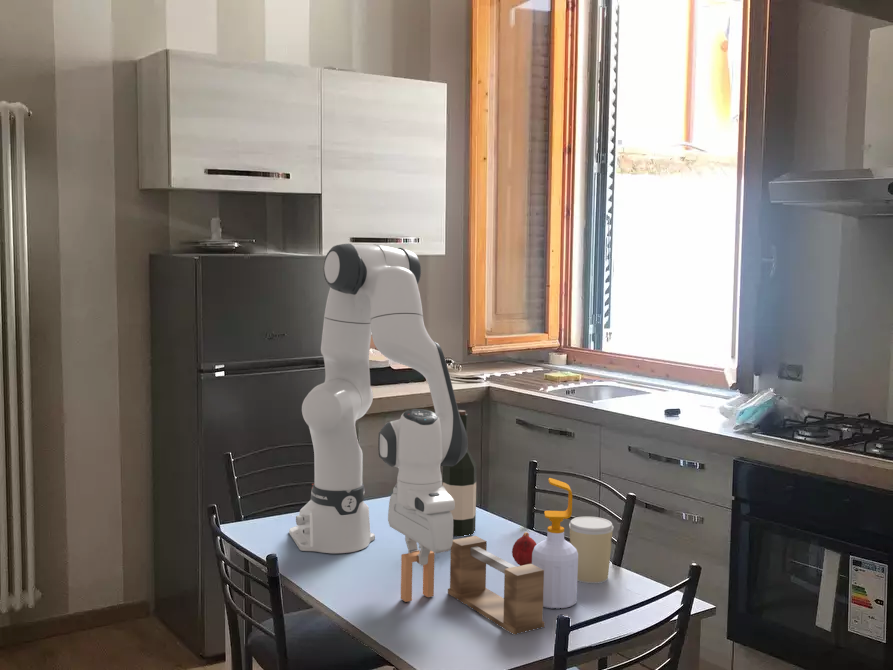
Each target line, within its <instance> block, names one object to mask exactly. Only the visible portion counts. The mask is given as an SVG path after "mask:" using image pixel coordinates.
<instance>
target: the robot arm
mask: <svg viewBox="0 0 893 670" xmlns="http://www.w3.org/2000/svg"><path fill="white" fill-rule="evenodd" d="M421 275H422V267H421V263H420V260H419V257H418V255H417V254H416V253H415V252H413V251H411V250H409V249H406V248H403V247H397V248H396V247H392V246H388V245H382V244H376V243H375V244H351V243H342V244H336V245H333V246H332V247H331V248H330V249H329V250H328V252H327V254H326V256H325V258H324V263H323V276H324V277H323V278H324V280H325V281H326V283H327V285H328V286H329V291H328V294H327V298H326V303H325V310H324V315H323V324H322V325H323V326H322V333H321V343H320V353H321V356H322V357H323V362H324V370H325V371H324V372H325V378H324V382H322V383H320V384H317V385H316V386H314V387H313V388H311V390H310V391H309V392H308V394H307V395H306V396H305V398H304V399H303V401H302V404H301V413H302V418H303V420H304V422H305V423H306V425H307V426H308V429H309V433H310V436H311V441H312V446H313V452H314V453H313V454H314V455H313V456H314V457H313V458H314V460H313V461H314V483H311V486H312V487H311V492H310V500H309V501H308V502H307V503H306V504H305V505H304V506H302V508H300V510H299V512H298V513H299V514H298V515H296V516H295V522H296V523H295V524H296V525H295V526H293V527H290V528H289V530H288V531H289V532H288V533H289V535H290V536H291V538H292V540H293V541H294V543H295V544H296V546H297V547H298V549H299V550H300V551H303V552H318V553H324V554H345V553H346V554H347V553H354V552H358V551H360V550H361V551H362V550H363V549H365V548H367V547H368V546H369V545H370V543H371V542H372V541H374V540H375V539H376V535H375V533H373V532H371V523H370V510H369V508H370V507H369V506H368V504H367V503H365V502H364V500H365V494H366V493H365V485H364V483H363V456H364V455H363V450H362V448H361V446H360V444H359V441H358V436H357V430H356V423H357V422H356V421H358V420H359V419H361V418H362V417H364V416H365V415H366V413H367V412H368V411H369V409H370V407H371V406H372V403H373V401H374V400H373V399H374V392H373V389H372V386H371V372H370V348H371V339H372V342H373V344H374V346H375V348H376V350H378V352H379V353H380V354H381V355H383V356H384V357H386V358H387V359H389V360H390V361H392V362H394V363H397V364H400V365H403V366H406V367H408V368H410V369H413V370H415V371H417V372H418V373H420V375H422V376H423V377H424V378H425V379H426V382H427V384H428V387H429V392H430V396H431V399H432V400H431V401H432V404H433V408H434V412H433V411H431V410H428V409H424V408H414V409H413V408H412V409H408V410H405V411H404V412H403V413H402V414H401V416H400V418H399V419H396V420H392V421H387V422H386V423H385V424H384V425H383V426H382V428H381V429H380V431H379V432H378V440H377V441H378V447H377V448H378V450H377V451H378V456H379V458H380V459H381V461H383V462H384V463H385V464H386V465H388V466H389V467H393V468H398V473H397V477H396V478H397V479H396V484H395V486H394V487H393V488H392V489H393V490H392V494H391V495H390V497H389V501H388V502H389V504H388V513H387V522H388V525H389V528H391V529H394V531H396V532H398V533H400V534H401V535H404V536H405V537H404V540H405V544H406V547H407V551H408V552H407V553H413V552H419V551H420V552H419V554H418V555H417V562H416V563H417V564H419V566H423V565H426V564H427V563H428V555H429V553H430V551H432V552H434V553H435V554H440V553H446V552H449V551H451V547H452V543H453V540H454V536H453V516H452V513H451V512H450V511H452V510H454V508H455V502H454V500H453V498H452V497H451V496H450V495H449V494H448V492H447V491H446V490H445V488H444V486H443V474H442V472H441V467H443V466H454V465H456V464H457V463H458V462H459V461H460V460H461V459H462V458H463V457H464V455H465V454H466V452H467V449H468V448H469V441H468V433H467V434H466V430H465V427H464V425H463V422H462V420H461V417H460V414H459V411H458V410H459V408H458V407H459V406H458V403H457V399H456V396H455V392H454V387H453V382H452V379H451V376H450V371H449V368H448V364H447V361H446V357H445V354H444V352H443V349H442V348H441V345H440V344H439V343H438V342H437V341H434V340H433V339H432V338H431V335H430V334H429V332H428V330H427V328H426V326H425V323H424V322H425V321H424V314H423V313H424V312H423V305H422V298H421V294H420V289H419V285H418V284H419V283H420V280H421ZM468 450H469V449H468Z"/></svg>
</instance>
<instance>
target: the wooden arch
mask: <svg viewBox="0 0 893 670" xmlns="http://www.w3.org/2000/svg"><path fill="white" fill-rule="evenodd" d="M419 552H420V551H419ZM419 552H413V553H408V552H407V553H402V554H401V557H400V558H401V559H400V561H401V562H400V567H401V568H400V599H401V600H402V601H404V603H406V602H412V600H413V563H417V555H418V554H419ZM435 554H436V553H434V552H432V551H430V553H429V555H428V563H427V564H426V565H422V595H423V596H425V597H427V598H432V597H434V595H435V557H436V556H435Z"/></svg>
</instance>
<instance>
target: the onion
mask: <svg viewBox="0 0 893 670" xmlns="http://www.w3.org/2000/svg"><path fill="white" fill-rule="evenodd" d="M537 544H538V543H537V542H536V541H535V540H534V539H533V538H532V537H530V533H529V532H528V531H526V532H524V533H523V535H522V536H521V537H519V538H518V539H517V540H516V541H515V542H514V544H513V546H512V550H511V554H512V555H511V556H512V558H513V559H514V562H515V563H516V564H517V565H518V566H522V565H527V564H532V552H533V549H534V547H535V546H536V545H537Z"/></svg>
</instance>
